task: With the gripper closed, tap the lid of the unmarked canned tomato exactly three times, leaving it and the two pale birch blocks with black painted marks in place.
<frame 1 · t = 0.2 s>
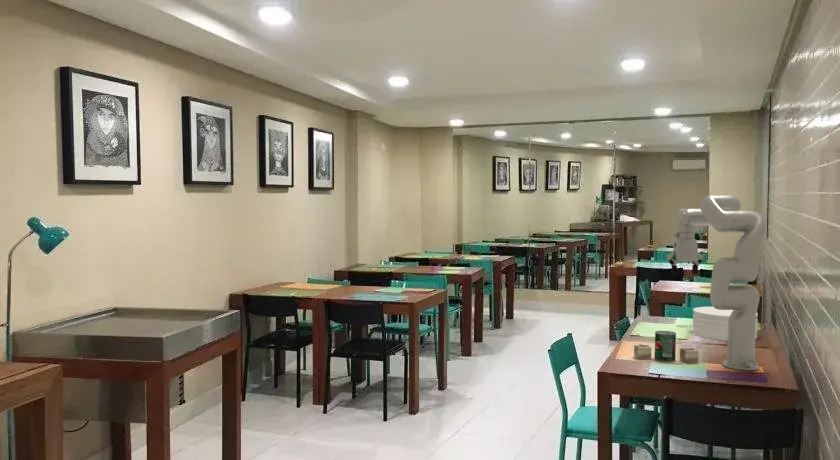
hand: (684, 274, 294), 31 cm above the table, tool pointing down, fingers open, 9 cm apart
canned tomato: (664, 360, 262), on the table
marked block two: (642, 358, 264), on the table
plate stack: (724, 335, 313), on the table
marked block one: (688, 362, 259), on the table
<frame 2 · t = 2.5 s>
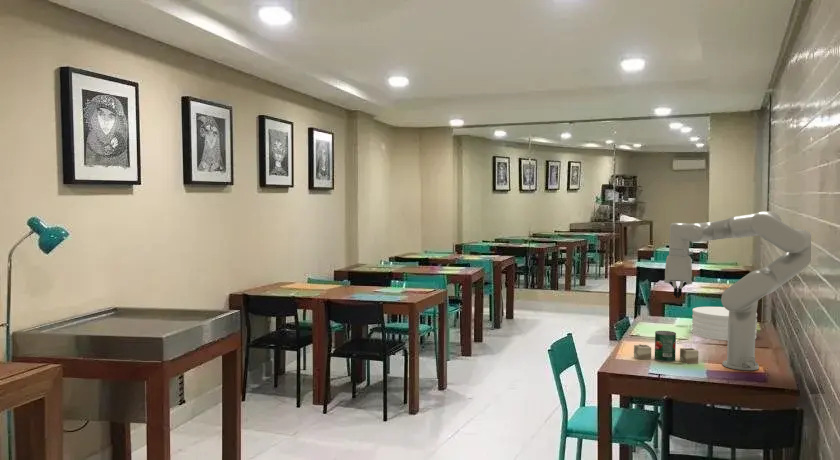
hand: (677, 297, 267), 24 cm above the table, tool pointing down, fingers closed
nothing on the table moved.
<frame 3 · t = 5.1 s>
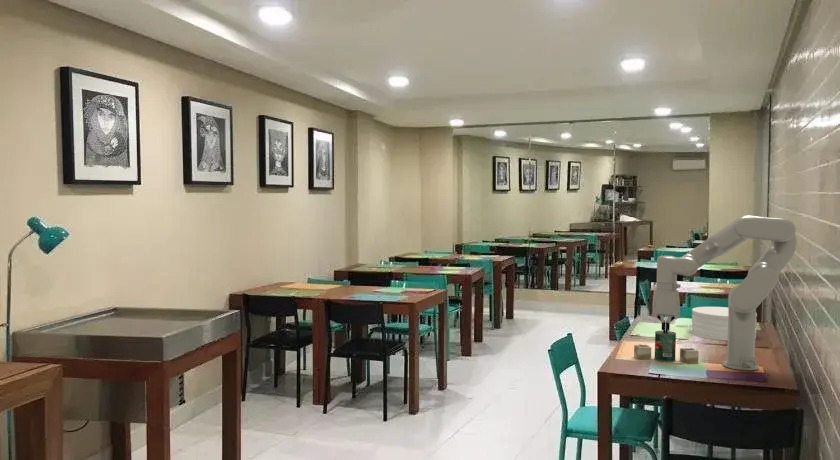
hand: (665, 332, 262), 11 cm above the table, tool pointing down, fingers closed
nothing on the table moved.
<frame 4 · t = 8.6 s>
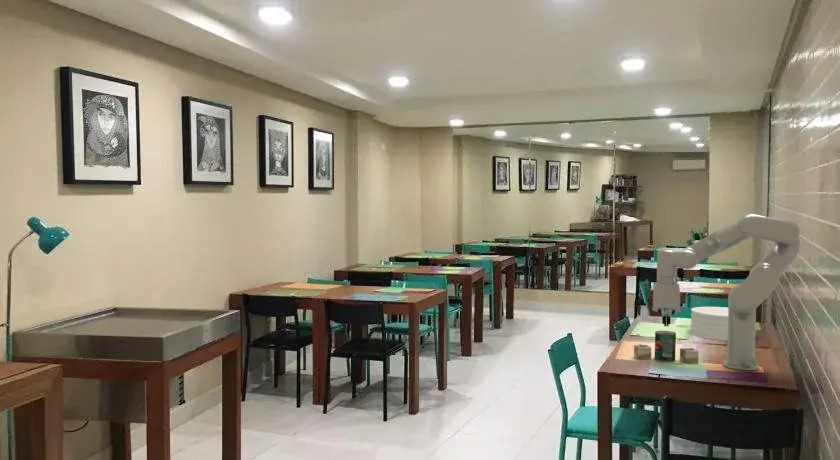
hand: (666, 325, 262), 14 cm above the table, tool pointing down, fingers closed
nothing on the table moved.
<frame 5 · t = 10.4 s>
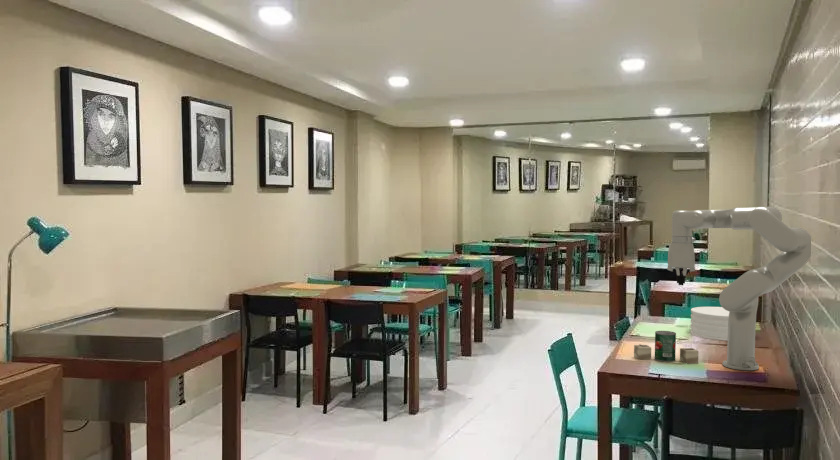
hand: (680, 285, 269), 29 cm above the table, tool pointing down, fingers closed
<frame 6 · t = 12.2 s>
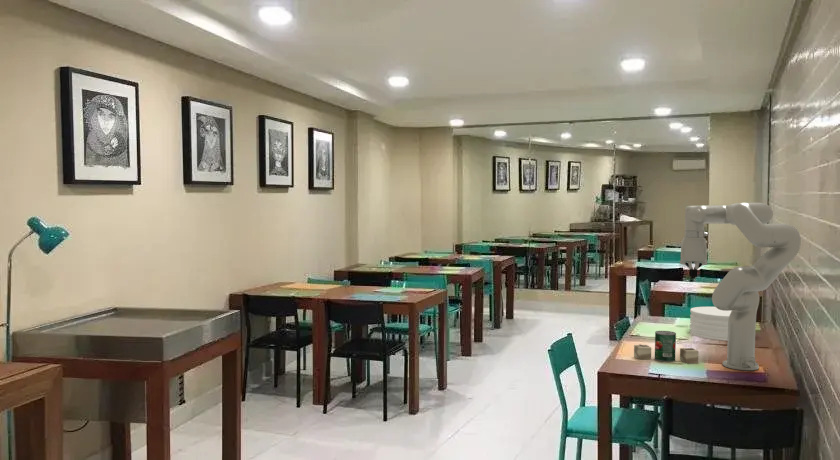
hand: (693, 278, 276), 31 cm above the table, tool pointing down, fingers closed
at the end: canned tomato moved 0.2 cm from its start; canned tomato tilted 0°; marked block one moved 0.1 cm from its start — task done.
